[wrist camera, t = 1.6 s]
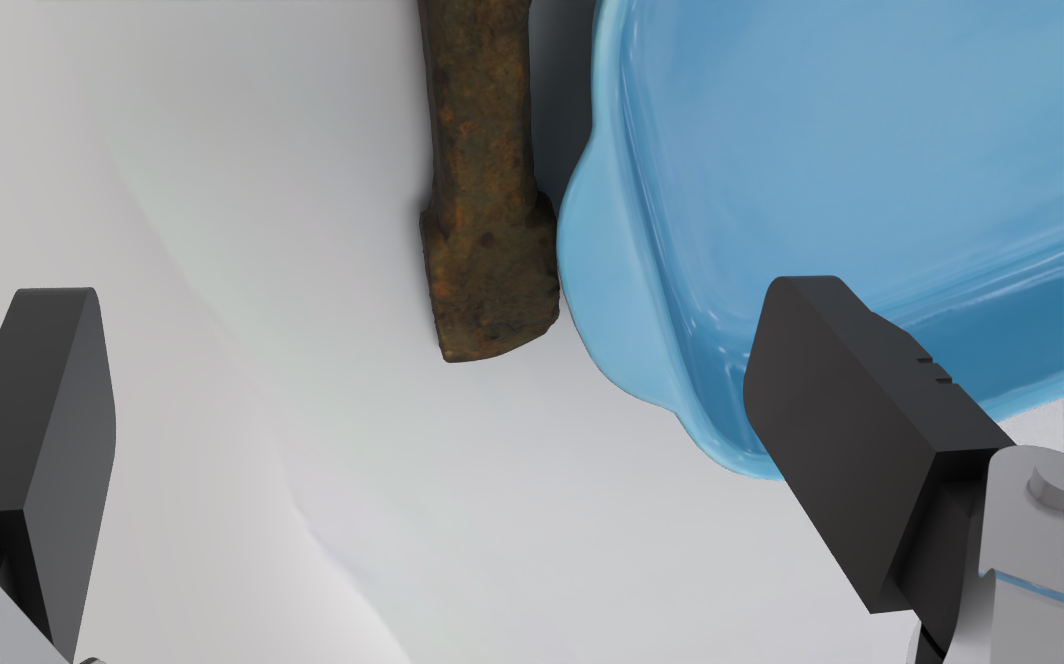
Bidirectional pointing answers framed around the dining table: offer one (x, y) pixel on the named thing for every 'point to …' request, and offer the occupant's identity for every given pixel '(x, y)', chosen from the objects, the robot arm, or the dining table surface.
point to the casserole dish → (818, 192)
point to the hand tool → (484, 183)
